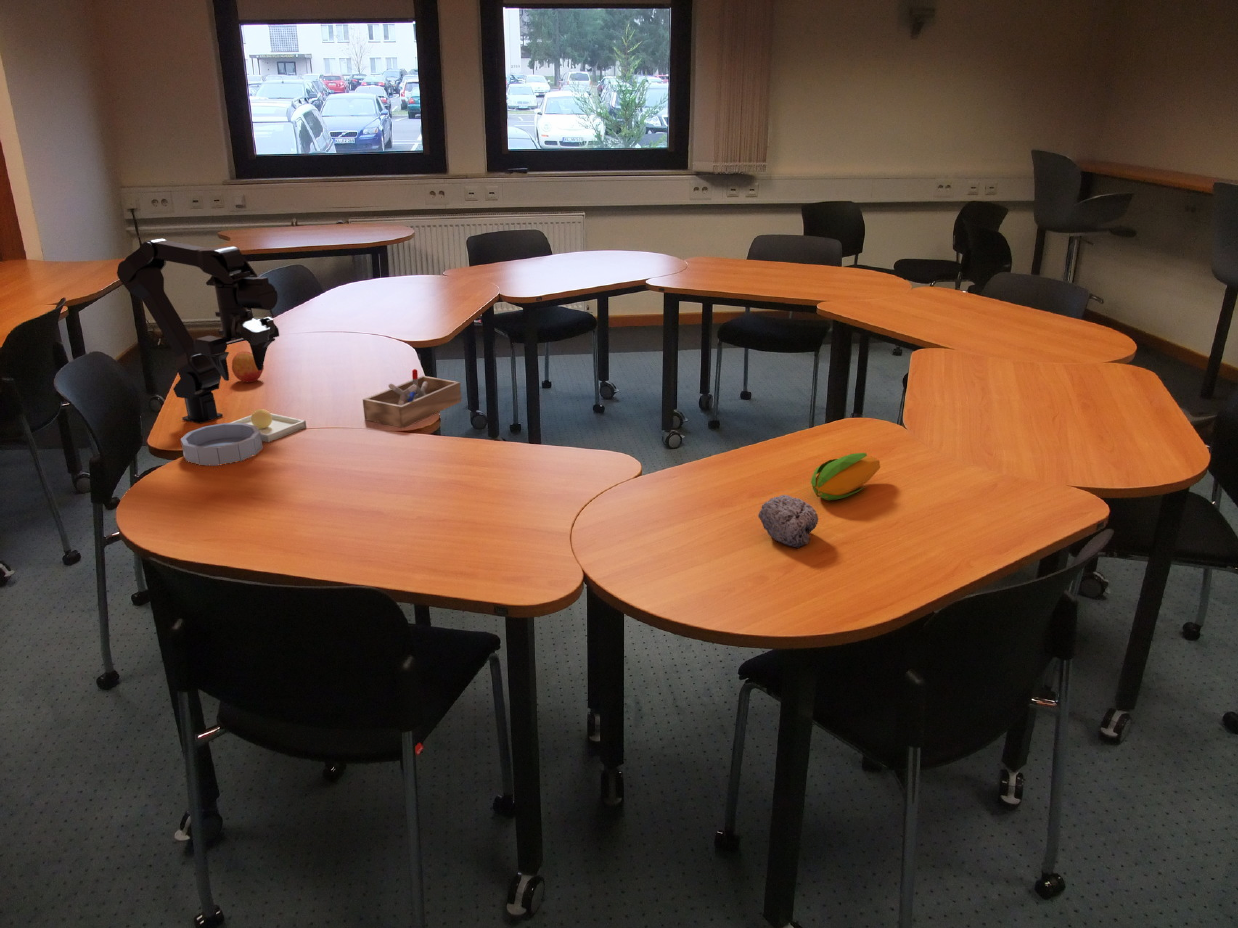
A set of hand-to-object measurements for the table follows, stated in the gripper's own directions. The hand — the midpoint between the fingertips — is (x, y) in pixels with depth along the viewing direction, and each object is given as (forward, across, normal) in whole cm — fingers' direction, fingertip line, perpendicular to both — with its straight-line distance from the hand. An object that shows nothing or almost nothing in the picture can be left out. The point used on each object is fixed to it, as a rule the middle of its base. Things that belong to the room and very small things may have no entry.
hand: (243, 375), depth 203 cm
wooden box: (+12, +26, -26) cm, 39 cm away
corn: (+12, +28, -130) cm, 134 cm away
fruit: (+12, +24, +28) cm, 39 cm away
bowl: (+12, -14, -8) cm, 20 cm away
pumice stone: (+12, +3, -127) cm, 128 cm away
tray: (+12, 0, -5) cm, 13 cm away
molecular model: (+12, +26, -26) cm, 39 cm away
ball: (+9, -1, -5) cm, 11 cm away
